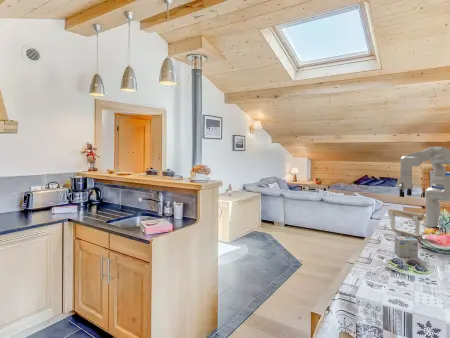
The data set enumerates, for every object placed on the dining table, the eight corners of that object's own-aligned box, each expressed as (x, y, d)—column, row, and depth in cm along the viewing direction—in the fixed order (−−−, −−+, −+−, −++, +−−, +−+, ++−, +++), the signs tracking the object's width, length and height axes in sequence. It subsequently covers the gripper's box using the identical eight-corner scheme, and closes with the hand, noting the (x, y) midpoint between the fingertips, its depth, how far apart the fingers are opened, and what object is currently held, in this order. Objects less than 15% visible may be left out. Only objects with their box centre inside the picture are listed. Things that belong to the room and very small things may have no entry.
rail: (390, 213, 233) (391, 208, 232) (423, 219, 212) (423, 214, 212) (388, 214, 231) (388, 209, 230) (420, 220, 210) (420, 215, 210)
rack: (392, 228, 234) (392, 210, 233) (423, 235, 214) (424, 216, 213) (386, 229, 230) (387, 211, 229) (418, 237, 210) (418, 217, 209)
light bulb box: (412, 253, 178) (412, 236, 177) (418, 258, 171) (419, 240, 170) (393, 253, 179) (394, 236, 178) (399, 257, 172) (399, 239, 171)
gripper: (407, 172, 226) (406, 194, 227) (394, 174, 217) (393, 196, 219) (417, 173, 220) (417, 195, 221) (404, 174, 211) (404, 198, 212)
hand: (405, 196), depth 220 cm, fingers open, 9 cm apart
